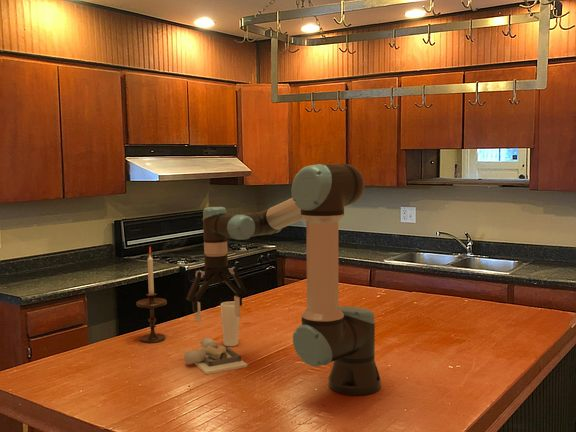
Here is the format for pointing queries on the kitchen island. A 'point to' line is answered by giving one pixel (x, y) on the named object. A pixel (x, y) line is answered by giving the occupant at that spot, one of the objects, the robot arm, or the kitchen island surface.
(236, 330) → the drinking glass
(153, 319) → the candlestick
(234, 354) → the coupling board
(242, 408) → the kitchen island surface
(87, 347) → the kitchen island surface
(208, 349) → the pipe fitting
